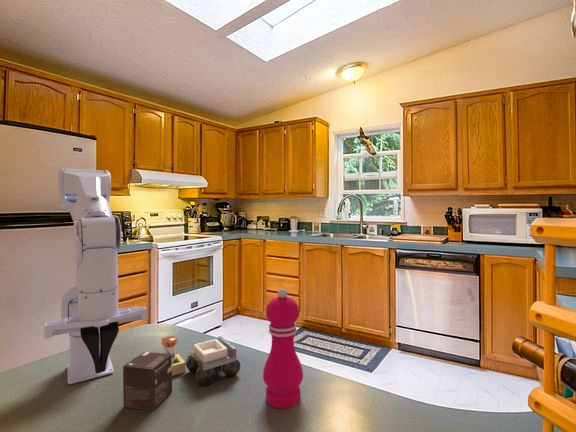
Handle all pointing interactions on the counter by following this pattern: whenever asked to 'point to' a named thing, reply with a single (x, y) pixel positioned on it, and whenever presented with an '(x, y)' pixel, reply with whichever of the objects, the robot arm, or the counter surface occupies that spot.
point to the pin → (170, 346)
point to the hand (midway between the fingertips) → (100, 370)
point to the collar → (178, 365)
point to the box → (147, 380)
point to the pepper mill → (282, 353)
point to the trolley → (213, 364)
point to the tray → (210, 350)
